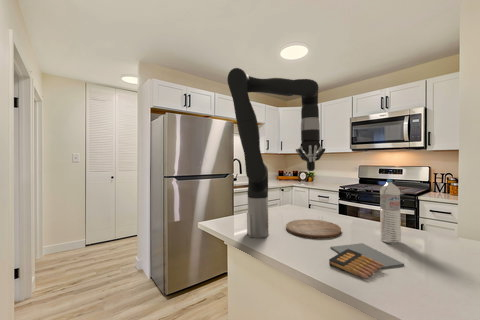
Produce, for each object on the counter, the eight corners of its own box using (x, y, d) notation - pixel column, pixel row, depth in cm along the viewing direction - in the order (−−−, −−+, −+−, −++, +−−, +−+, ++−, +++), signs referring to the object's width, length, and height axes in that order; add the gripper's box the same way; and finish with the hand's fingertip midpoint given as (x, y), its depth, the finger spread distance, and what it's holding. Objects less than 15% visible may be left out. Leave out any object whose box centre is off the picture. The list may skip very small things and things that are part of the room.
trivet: (351, 239, 97) (351, 234, 97) (291, 240, 97) (291, 235, 97) (329, 222, 122) (329, 219, 122) (282, 223, 122) (282, 219, 122)
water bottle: (398, 239, 94) (398, 179, 94) (402, 245, 88) (401, 180, 87) (379, 237, 97) (378, 178, 96) (381, 243, 90) (380, 180, 90)
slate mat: (365, 271, 69) (365, 269, 69) (330, 248, 87) (330, 246, 87) (404, 265, 72) (404, 263, 72) (362, 244, 90) (362, 243, 90)
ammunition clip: (329, 265, 73) (366, 282, 63) (328, 259, 73) (366, 275, 63) (348, 253, 79) (385, 267, 69) (348, 248, 79) (385, 262, 69)
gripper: (299, 128, 91) (300, 171, 91) (329, 128, 93) (330, 170, 93) (291, 130, 98) (292, 171, 98) (319, 130, 101) (320, 170, 101)
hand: (310, 170), depth 96 cm, fingers closed
